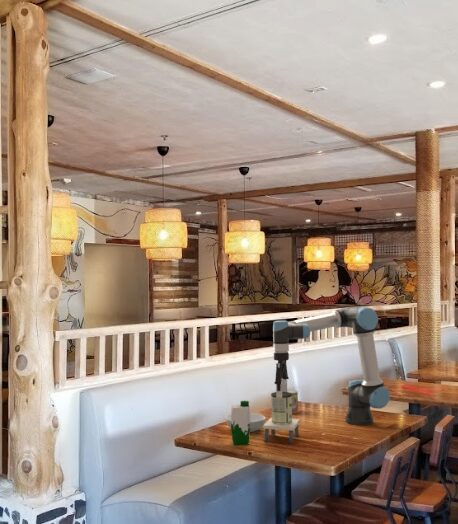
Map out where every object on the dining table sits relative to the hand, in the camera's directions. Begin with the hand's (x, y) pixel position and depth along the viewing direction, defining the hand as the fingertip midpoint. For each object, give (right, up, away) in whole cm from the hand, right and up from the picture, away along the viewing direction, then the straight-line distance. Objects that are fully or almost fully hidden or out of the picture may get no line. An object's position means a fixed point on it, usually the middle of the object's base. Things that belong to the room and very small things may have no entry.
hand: (282, 394), depth 302 cm
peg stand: (0, -21, -1) cm, 21 cm away
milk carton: (-21, -22, -10) cm, 31 cm away
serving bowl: (-17, -22, +17) cm, 33 cm away
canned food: (+9, -24, +63) cm, 68 cm away
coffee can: (0, -14, -1) cm, 14 cm away
